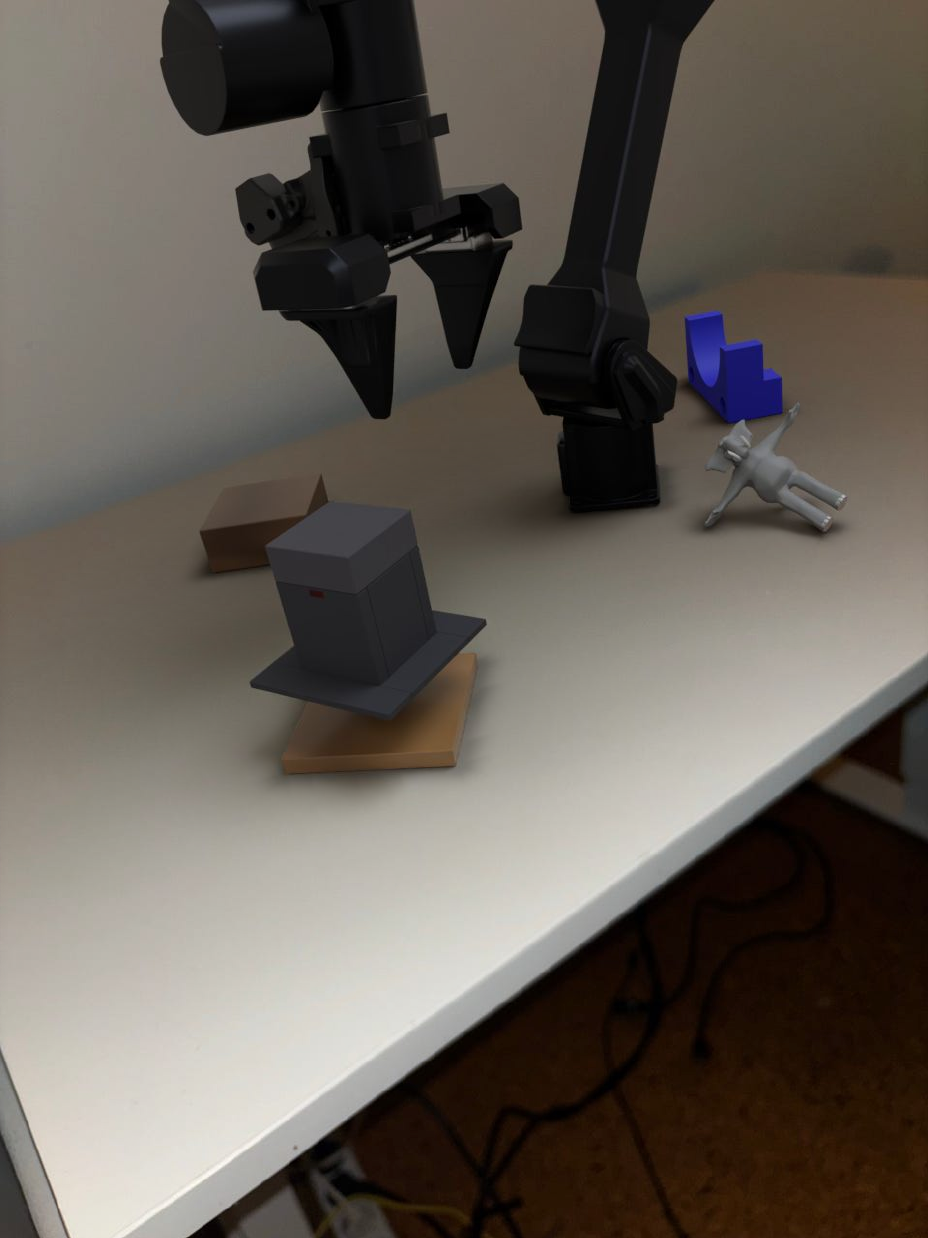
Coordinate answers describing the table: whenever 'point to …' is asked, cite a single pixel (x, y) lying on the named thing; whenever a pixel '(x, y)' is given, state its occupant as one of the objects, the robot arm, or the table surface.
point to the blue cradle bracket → (730, 371)
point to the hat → (358, 612)
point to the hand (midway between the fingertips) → (424, 391)
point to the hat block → (257, 519)
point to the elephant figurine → (769, 474)
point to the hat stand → (388, 729)
